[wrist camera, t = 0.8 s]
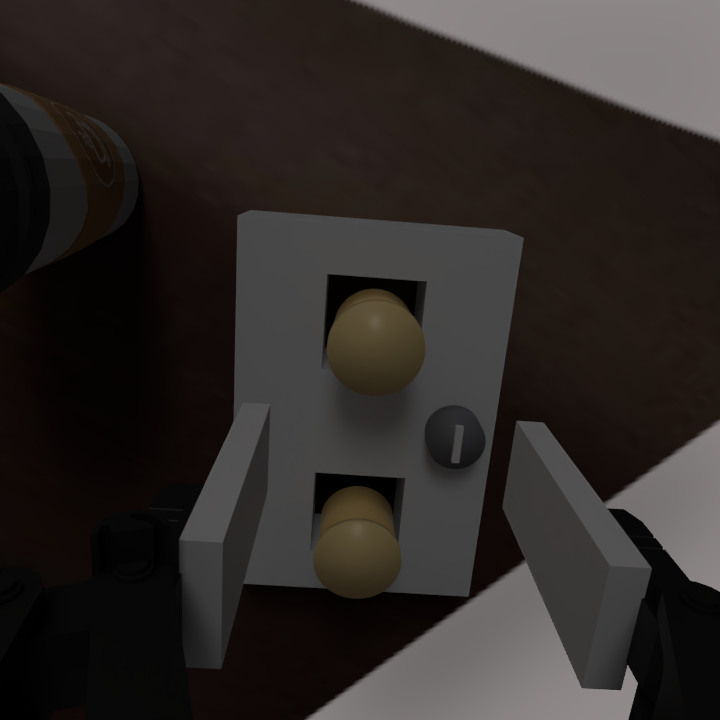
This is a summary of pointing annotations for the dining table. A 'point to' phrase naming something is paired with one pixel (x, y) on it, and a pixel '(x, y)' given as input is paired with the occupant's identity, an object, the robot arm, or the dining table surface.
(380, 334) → the knob
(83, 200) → the coffee cup
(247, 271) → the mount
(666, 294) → the dining table surface
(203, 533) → the robot arm
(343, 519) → the knob
